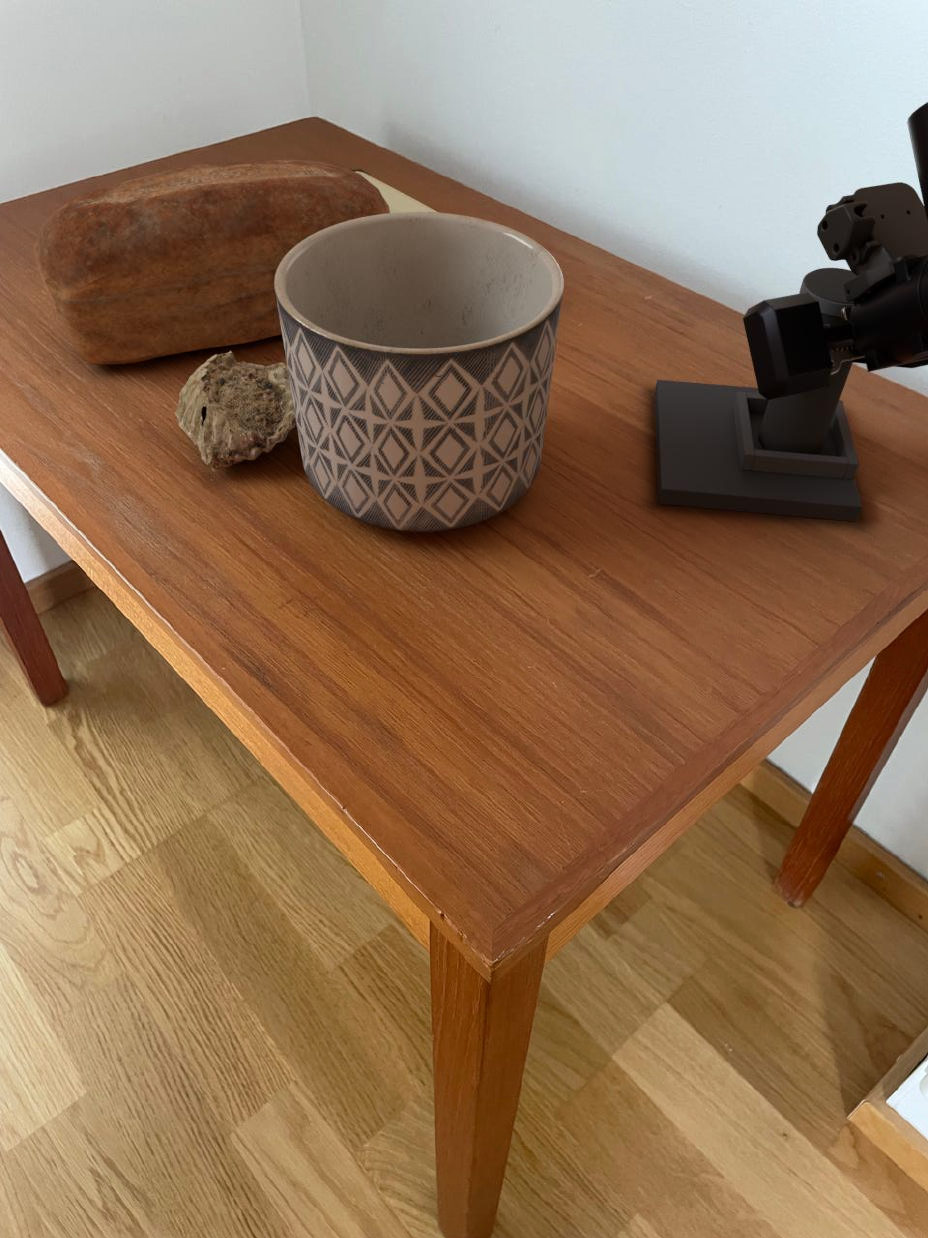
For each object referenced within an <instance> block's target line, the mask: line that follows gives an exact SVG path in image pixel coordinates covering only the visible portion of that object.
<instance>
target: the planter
mask: <svg viewBox="0 0 928 1238" xmlns="http://www.w3.org/2000/svg"><path fill="white" fill-rule="evenodd" d="M564 284H565V280H564V275H563V271H562V269H561V267H560V265H559V263H558V261H557V260H556V259H555V257H554V256H553V255H552V254H551V253H550V252H549V251H548V250H547V248H545V247H544V246H543V245H541V244H540V243H539V242H538V241H536V240H535V239H532V238H531V237H529V236H528V235H526V234H524V233H522V232H520V231H518V230H516V229H513V228H511V227H509V226H505V225H503V224H500V223H497V222H494V221H491V220H487V219H483V218H478V217H475V216H469V215H463V214H456V213H448V212H438V211H437V212H398V213H387V214H379V215H372V216H367V217H362V218H357V219H353V220H349V221H345V222H342V223H339V224H336V225H333V226H330V227H328V228H325V229H323V230H321V231H319V232H316V233H315V234H313V235H311V236H309V237H307V238H306V239H304V240H302V241H301V242H300V243H298V244H297V245H296V246H294V247H293V248H292V249H291V250H290V251H289V252H288V253H287V254H286V255H285V257H284V258H283V259H282V261H281V262H280V264H279V266H278V268H277V271H276V274H275V280H274V285H275V293H276V299H277V305H278V312H279V318H280V324H281V330H282V334H281V336H282V342H283V347H284V348H283V349H284V354H285V362H286V365H287V368H288V374H289V380H290V386H291V392H292V399H293V405H294V411H295V417H296V424H297V426H296V428H297V429H296V431H297V435H298V442H299V448H300V454H301V460H302V466H303V469H304V472H305V475H306V477H307V479H308V481H309V483H310V484H311V487H313V489H314V490H315V491H316V493H317V494H318V495H319V496H320V497H321V498H322V499H323V500H324V501H325V502H326V503H328V504H329V506H331V507H333V508H335V509H336V510H338V511H339V512H341V513H342V514H344V515H346V516H348V517H350V518H352V519H354V520H357V521H359V522H361V523H365V524H368V525H371V526H374V527H379V528H383V529H387V530H393V531H400V532H412V533H413V532H414V533H419V532H420V533H422V532H423V533H425V532H427V533H428V532H443V531H449V530H455V529H461V528H464V527H468V526H472V525H475V524H478V523H481V522H483V521H486V520H489V519H491V518H492V517H495V516H497V515H499V514H501V513H502V512H504V511H505V510H508V509H509V508H510V507H512V506H513V505H515V504H516V503H517V502H519V500H520V499H521V498H522V497H523V496H524V495H525V494H526V493H527V491H528V490H529V489H530V487H531V486H532V485H533V483H534V481H535V480H536V477H537V475H538V473H539V470H540V467H541V462H542V455H543V448H544V440H545V433H546V424H547V417H548V410H549V403H550V394H551V386H552V379H553V370H554V365H555V364H554V363H555V358H556V357H555V356H556V348H557V342H558V341H557V340H558V333H559V325H560V320H561V319H560V318H561V310H562V302H563V297H564V287H565V285H564Z"/></svg>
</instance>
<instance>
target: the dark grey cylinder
mask: <svg viewBox="0 0 928 1238" xmlns="http://www.w3.org/2000/svg"><path fill="white" fill-rule="evenodd" d="M856 276H857V275H855V274H854V273H853V272H852V271H851V270H850V269H846V268H841V267H840V268H839V267H822V268H817V269H814V270H812V271H810V272H808V273H807V274H805V275H804V277H803V278H802V282H801V285H800V288H799V293H798V294H800V293H805V292H808V293H809V294H810V295H811V296H813V297H814V298H815V299H816V300H817V301H819V305H820V310H821V315H822V319H823V324H824V325H826V324H829V327H835V326H840V325H845V324H849V322H847V323H844V321H843V319H842V314H841V310H842V309H843V308H845V307H847V306H852V305H854V303H853V301H851V302H848V301H847V299H846V295H845V290H844V285H843V283H845V282H847V281H849V280H851V279H852V278H854V277H856ZM851 344H854V342H853V341H852V342H848V343H843V344H838V345H833V346H834V348H836V347H838V348H839V347H841V346H843V347H844V346H846V345H848V346H849V345H851ZM853 364H854V363H853V360H850V361H845V362H842V363H841V367H840V369H839V371H838V372H837V373H835V374H832V375H830V378H829V383H830V386H829V387H824V388H820V389H815V390H811V391H807V392H803V393H800V394H795V395H790V396H786V397H781V398H777V399H772V400H769V401H768V405H767V408H766V412H765V415H764V418H763V422H762V425H761V428H760V432H759V442H760V444H761V445H762V446H763V448H764V449H765V450H767V451H779V452H790V453H802V454H813V455H818V454H819V453H820V451H821V449H822V447H823V444H824V441H825V438H826V435H827V433H828V430H829V427H830V424H831V422H832V419H833V416H834V413H835V410H836V408H837V405H838V402H839V400H841V399H840V398H841V396H842V394H843V391H844V388H845V385H846V383H847V380H848V377H849V374H850V371H851V369H852V366H853Z"/></svg>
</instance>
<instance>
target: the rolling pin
mask: <svg viewBox="0 0 928 1238" xmlns="http://www.w3.org/2000/svg"><path fill="white" fill-rule="evenodd" d="M347 169H348V170H351V171H353V172H356V173H359V174H361V175H362V176H363V177H364V178H366V179H367V180H368V181H369V182H370V183H372V184H373V185H374V186H375V187H377V188H378V189H379V191H380V193H381V195H382V197H383V198H384V199H385V201H386V202H387V204H388V205H389V209H390V213H398V212H438V211H436V209H433V208H431V207H429V206H428V205H426V204H424V203H422V202H420V201H418V200H416V199H415V198H413V197H411V196H409V195H407V194H405V193H403V192H402V191H400V190H398V189H396V188H395V187H392V186H390V185H388V184H387V183H385V182H382V181H381V180H379V179H377V178H375V177H373V176H372V175H371V174H370V173H368V172H367V171H366V170H364V169H363V168H360V167H355V168H353V167H352V168H347Z"/></svg>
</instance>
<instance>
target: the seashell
mask: <svg viewBox="0 0 928 1238" xmlns="http://www.w3.org/2000/svg"><path fill="white" fill-rule="evenodd" d="M173 414H174V415H175V416H176V418H177V421H178V427H179V428H180V429H181V430H183V432H184V433H185V434H186V436H187V437H188V438H189V439H190V441H192V442H193V444H194V447H196V448H197V449H198V450H199V452H200V458H201V460H202V462H204V464H205V465H206V466H207V467H208V468H210V469H211V470H212V472H215V473H217V472H218V471H220V470H221V469H223V468H224V467H225V468H227V467H231V466H233V465H236V464H238V463H241V462H243V461H244V460H249V461H254V460H256V459H257V458H258V457H259V456H260V455H261V454H262V453H263V452H264V453H266V454H269V453H270V452H271V451H272V450H273V448H274V447H275V446H276V445H277V444H278V443H283V442H284V441H285V440H286V438H287V437H288V433H290V431H291V430H292V429H294V428H297V424H296V417H295V411H294V405H293V399H292V392H291V386H290V380H289V374H288V368H287V364H286V363H285V362H277V363H274V364H270V365H267V366H265V365H264V364H263V365H262V364H255V363H253V362H245V361H244V360H243V361H241V362H238V361H237V360H236V358H235V355H234V353H233V352H232V350H229V352H224V353H219V354H214V355H213V356H210V358H208V359H206V361H205V363H202V364H201V365H200V366H198V368H196V370H195V371H194V372H193V373H192V374H191V375H190V376H189V378H188V380H187V381H186V383H185V385H184V386H183V387H182V388H181V389H180V392H179V394H178V405H177V407H176V409H175V411H174V413H173Z"/></svg>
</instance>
